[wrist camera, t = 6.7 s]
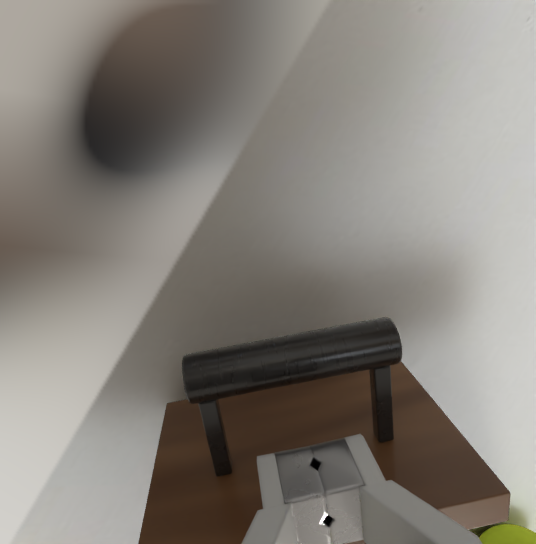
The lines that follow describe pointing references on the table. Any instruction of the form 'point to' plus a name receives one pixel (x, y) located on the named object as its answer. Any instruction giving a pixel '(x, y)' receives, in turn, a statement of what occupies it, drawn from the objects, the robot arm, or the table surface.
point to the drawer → (305, 431)
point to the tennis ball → (508, 535)
